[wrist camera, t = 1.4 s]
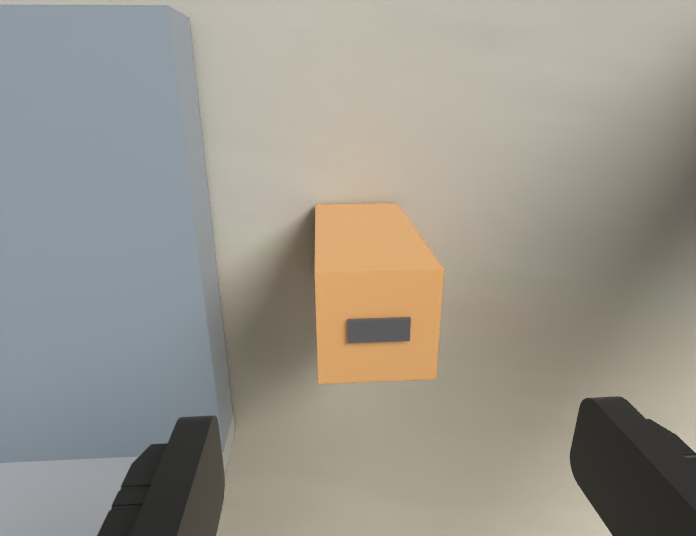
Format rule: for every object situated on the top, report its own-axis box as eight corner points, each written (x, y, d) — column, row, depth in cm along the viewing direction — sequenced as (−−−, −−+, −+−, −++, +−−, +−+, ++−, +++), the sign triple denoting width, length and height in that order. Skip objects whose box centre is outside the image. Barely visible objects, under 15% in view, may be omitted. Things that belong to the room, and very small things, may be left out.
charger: (397, 203, 23) (445, 270, 14) (394, 278, 24) (437, 381, 16) (315, 204, 23) (314, 274, 14) (317, 281, 24) (318, 386, 16)
